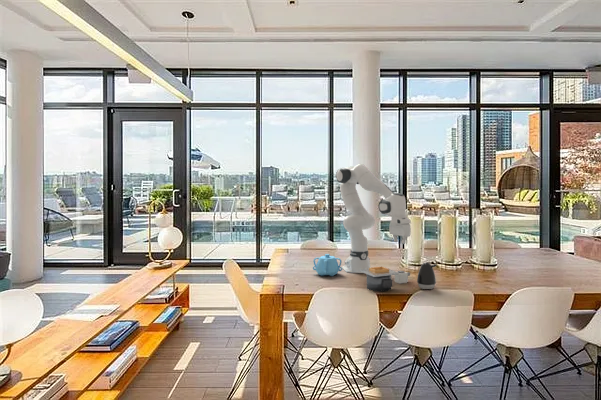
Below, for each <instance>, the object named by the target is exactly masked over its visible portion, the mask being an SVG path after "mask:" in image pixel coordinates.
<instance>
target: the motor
mask: <svg viewBox="0 0 601 400" xmlns="http://www.w3.org/2000/svg"><path fill="white" fill-rule="evenodd" d="M388 269H389V272H382V273H374V272H372V271H369V269H361V270H360V272H363V273H362V274H365V275H366V290H368V289H369V290H368V291H371V290H373V291H372V292H389V291H391V290H392V288H393V279H392V276H395V275H398V274H399V273H398V271H395V270H393V269H390V268H388ZM380 270H382V269H380Z"/></svg>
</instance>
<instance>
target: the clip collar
mask: <svg viewBox="0 0 601 400" xmlns="http://www.w3.org/2000/svg"><path fill="white" fill-rule="evenodd" d="M380 269H382V270H380ZM389 269H390V268H387V267H384V266H373V267H370V268H369V271H372V272H374V273H382V272H389Z"/></svg>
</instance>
